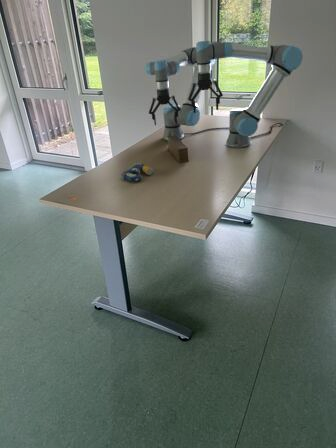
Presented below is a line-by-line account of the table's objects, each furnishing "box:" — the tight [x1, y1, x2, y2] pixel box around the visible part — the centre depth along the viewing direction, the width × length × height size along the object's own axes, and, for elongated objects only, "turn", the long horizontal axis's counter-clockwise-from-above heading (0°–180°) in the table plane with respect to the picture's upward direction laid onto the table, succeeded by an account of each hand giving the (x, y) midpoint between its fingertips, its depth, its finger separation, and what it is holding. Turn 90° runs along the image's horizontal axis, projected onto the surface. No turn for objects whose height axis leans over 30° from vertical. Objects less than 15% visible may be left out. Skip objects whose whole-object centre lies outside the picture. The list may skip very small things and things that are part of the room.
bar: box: [167, 135, 189, 163], centre depth 215 cm, size 28×6×9 cm, turn 14°
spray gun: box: [120, 162, 154, 183], centre depth 191 cm, size 21×4×15 cm
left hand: (165, 123), depth 215 cm, fingers open, 13 cm apart
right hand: (205, 111), depth 198 cm, fingers open, 13 cm apart
